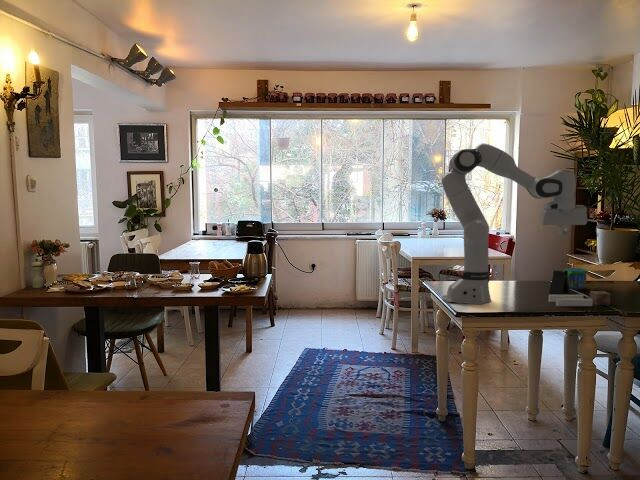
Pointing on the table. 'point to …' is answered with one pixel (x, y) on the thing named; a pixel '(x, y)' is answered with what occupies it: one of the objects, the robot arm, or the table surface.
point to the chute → (570, 300)
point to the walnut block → (600, 297)
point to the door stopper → (560, 282)
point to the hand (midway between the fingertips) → (563, 234)
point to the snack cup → (576, 277)
